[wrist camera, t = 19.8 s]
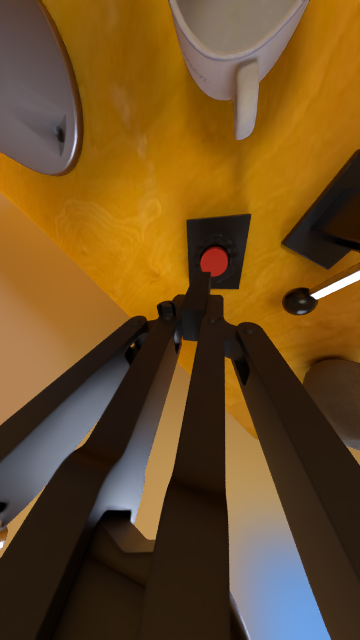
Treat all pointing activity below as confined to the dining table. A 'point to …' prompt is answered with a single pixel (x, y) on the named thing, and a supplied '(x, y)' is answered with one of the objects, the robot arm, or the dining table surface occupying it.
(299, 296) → the lever
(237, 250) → the black button base
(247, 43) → the teacup
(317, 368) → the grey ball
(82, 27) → the dining table surface
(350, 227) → the black lever stand
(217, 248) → the button
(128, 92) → the dining table surface
